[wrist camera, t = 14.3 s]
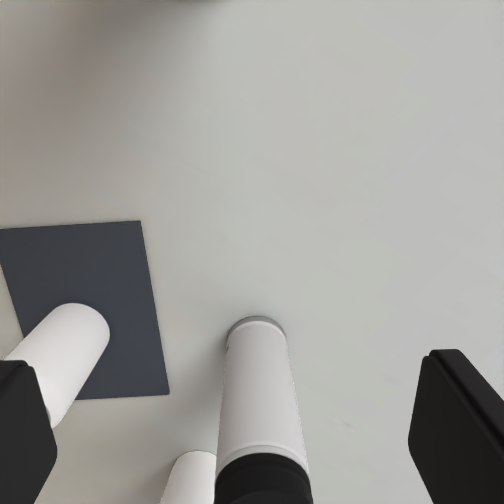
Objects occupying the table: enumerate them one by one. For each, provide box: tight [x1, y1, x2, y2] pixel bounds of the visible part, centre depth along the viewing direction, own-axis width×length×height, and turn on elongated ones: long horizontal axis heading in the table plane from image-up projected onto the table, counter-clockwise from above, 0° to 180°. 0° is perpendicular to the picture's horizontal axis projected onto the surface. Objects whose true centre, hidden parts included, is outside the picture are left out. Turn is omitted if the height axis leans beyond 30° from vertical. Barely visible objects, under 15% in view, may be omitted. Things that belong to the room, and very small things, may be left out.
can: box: [4, 303, 110, 429], centre depth 33 cm, size 6×6×12 cm
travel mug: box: [213, 316, 313, 504], centre depth 31 cm, size 6×7×20 cm
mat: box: [0, 221, 169, 400], centre depth 39 cm, size 20×14×1 cm
